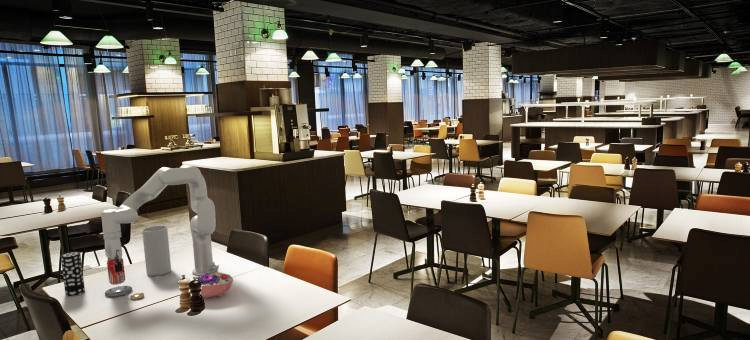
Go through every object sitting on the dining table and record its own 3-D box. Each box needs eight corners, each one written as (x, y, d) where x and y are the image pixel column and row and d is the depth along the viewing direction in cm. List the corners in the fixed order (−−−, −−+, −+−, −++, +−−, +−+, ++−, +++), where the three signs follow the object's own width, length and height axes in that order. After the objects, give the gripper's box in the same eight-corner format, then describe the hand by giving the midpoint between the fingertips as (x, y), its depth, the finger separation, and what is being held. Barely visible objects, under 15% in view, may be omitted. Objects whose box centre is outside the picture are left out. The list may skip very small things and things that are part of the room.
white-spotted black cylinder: (61, 294, 238) (56, 255, 235) (78, 288, 245) (74, 251, 242) (71, 297, 234) (66, 258, 231) (88, 291, 241) (84, 253, 238)
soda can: (128, 280, 241) (125, 255, 239) (119, 285, 234) (116, 259, 232) (115, 280, 241) (112, 255, 240) (106, 285, 234) (103, 259, 233)
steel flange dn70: (137, 288, 243) (137, 285, 242) (120, 298, 231) (119, 295, 231) (117, 287, 245) (117, 284, 245) (99, 296, 234) (98, 293, 234)
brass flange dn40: (147, 295, 233) (146, 293, 233) (138, 300, 228) (138, 298, 227) (136, 294, 235) (136, 292, 235) (127, 299, 229) (127, 297, 229)
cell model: (223, 304, 220) (221, 280, 219) (184, 301, 224) (182, 278, 223) (240, 289, 237) (239, 267, 235) (204, 288, 241) (202, 266, 239)
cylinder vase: (146, 270, 269) (142, 227, 265) (170, 267, 274) (166, 224, 271) (146, 277, 258) (141, 232, 254) (171, 273, 263) (167, 229, 259)
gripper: (97, 233, 237) (101, 268, 240) (110, 239, 225) (114, 275, 228) (114, 230, 243) (117, 264, 245) (127, 236, 231) (130, 271, 233)
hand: (116, 269), depth 237 cm, fingers closed on soda can, 7 cm apart
